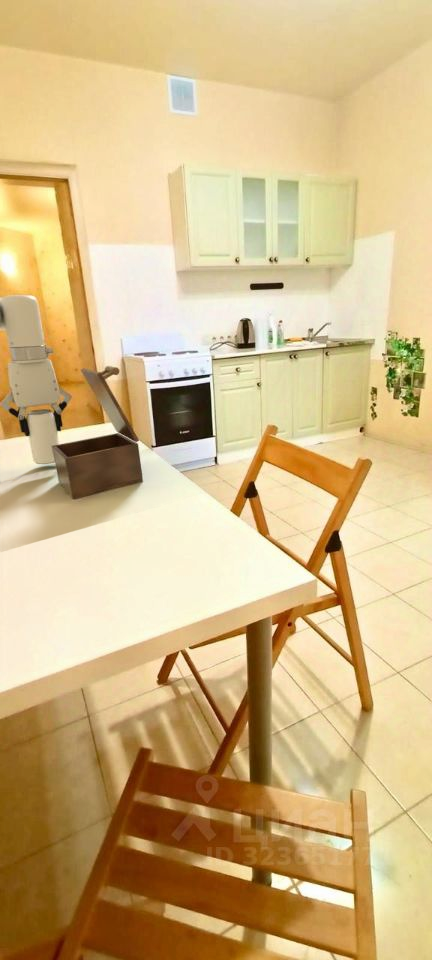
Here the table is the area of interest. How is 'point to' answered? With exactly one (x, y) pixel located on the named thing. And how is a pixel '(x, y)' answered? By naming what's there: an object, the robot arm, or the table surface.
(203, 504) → the table surface
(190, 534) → the table surface
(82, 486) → the chest
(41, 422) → the can
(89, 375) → the lid
